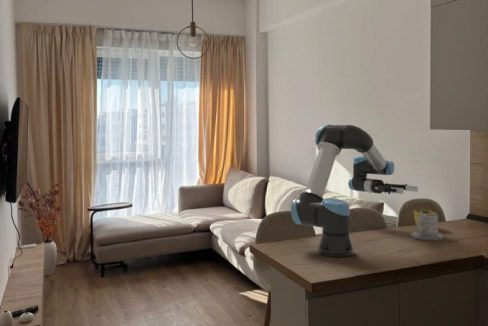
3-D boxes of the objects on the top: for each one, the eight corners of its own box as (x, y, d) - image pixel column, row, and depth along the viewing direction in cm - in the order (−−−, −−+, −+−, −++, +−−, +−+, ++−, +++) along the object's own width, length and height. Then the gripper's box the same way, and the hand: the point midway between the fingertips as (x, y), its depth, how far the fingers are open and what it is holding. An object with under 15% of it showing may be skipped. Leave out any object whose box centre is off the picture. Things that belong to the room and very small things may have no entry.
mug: (442, 235, 227) (442, 211, 226) (423, 237, 223) (423, 213, 222) (430, 231, 235) (431, 208, 233) (412, 234, 230) (412, 210, 229)
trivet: (415, 240, 222) (415, 238, 222) (407, 233, 237) (407, 231, 237) (447, 241, 221) (448, 238, 221) (437, 233, 236) (437, 231, 236)
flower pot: (412, 226, 251) (413, 210, 251) (428, 226, 252) (428, 210, 252) (420, 230, 243) (421, 213, 242) (436, 230, 244) (436, 213, 243)
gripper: (387, 190, 259) (422, 195, 243) (360, 195, 243) (396, 199, 227) (387, 177, 259) (423, 181, 242) (360, 180, 243) (396, 184, 226)
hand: (410, 190), depth 235 cm, fingers open, 13 cm apart
